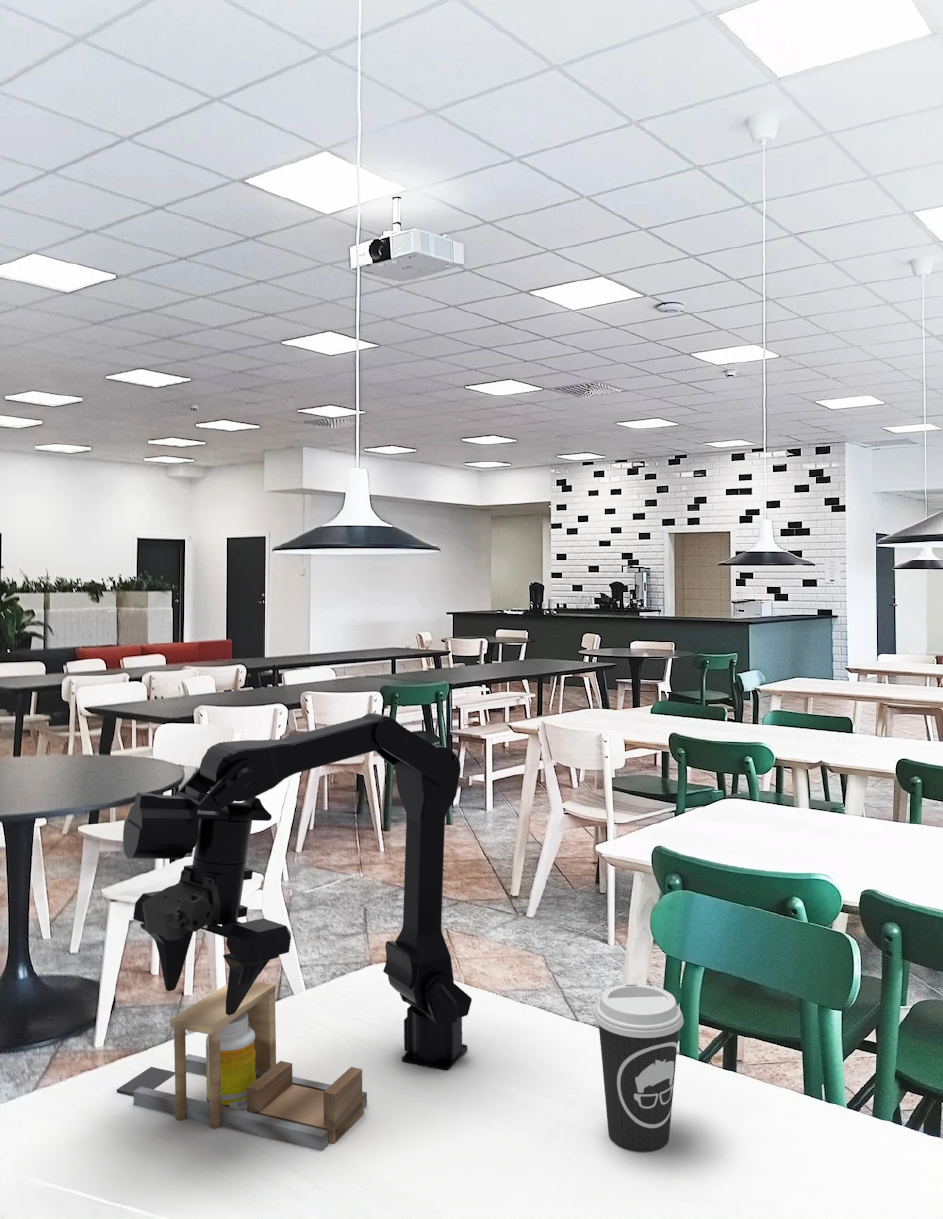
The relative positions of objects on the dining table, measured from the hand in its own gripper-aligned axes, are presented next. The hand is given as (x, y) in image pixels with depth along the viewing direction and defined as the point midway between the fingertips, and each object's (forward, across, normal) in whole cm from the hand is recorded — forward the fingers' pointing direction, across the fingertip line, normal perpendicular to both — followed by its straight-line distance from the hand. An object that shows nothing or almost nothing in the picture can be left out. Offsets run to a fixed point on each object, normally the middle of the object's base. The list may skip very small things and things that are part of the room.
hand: (199, 1002), depth 112 cm
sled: (+12, +9, +9) cm, 18 cm away
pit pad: (+14, -12, +6) cm, 20 cm away
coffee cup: (+8, +42, +25) cm, 50 cm away
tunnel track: (+13, +2, +8) cm, 16 cm away
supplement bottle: (+14, 0, +8) cm, 16 cm away
